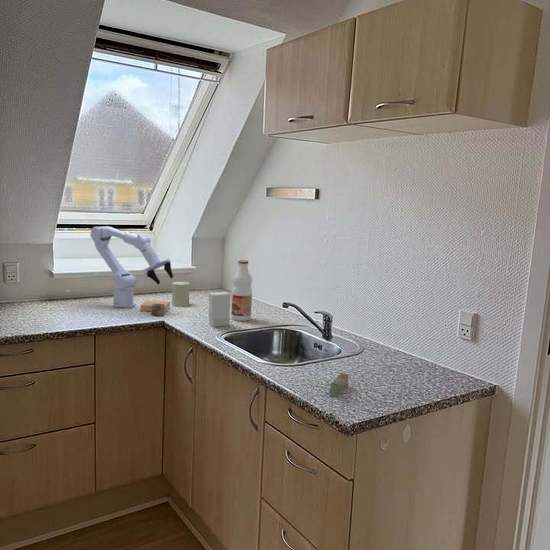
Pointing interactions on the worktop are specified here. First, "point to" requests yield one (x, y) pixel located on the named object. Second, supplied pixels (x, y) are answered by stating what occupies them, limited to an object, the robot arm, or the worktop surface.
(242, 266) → the fruit juice
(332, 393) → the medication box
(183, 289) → the can
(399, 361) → the worktop surface
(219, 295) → the skincare box
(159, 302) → the tan rectangular block
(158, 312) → the walnut cube
